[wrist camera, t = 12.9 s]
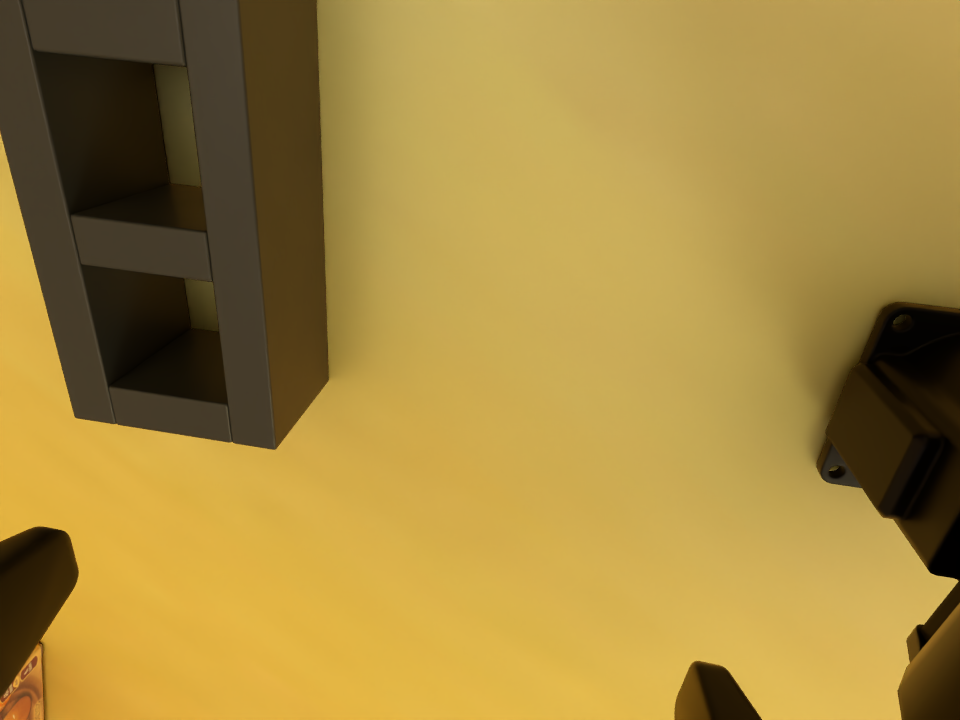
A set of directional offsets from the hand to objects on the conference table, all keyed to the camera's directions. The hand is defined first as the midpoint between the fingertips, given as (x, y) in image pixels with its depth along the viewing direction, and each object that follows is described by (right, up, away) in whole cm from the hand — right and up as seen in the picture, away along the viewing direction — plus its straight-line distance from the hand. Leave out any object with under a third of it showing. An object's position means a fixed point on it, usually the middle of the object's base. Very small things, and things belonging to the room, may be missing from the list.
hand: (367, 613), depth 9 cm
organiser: (-6, +11, +10) cm, 16 cm away
